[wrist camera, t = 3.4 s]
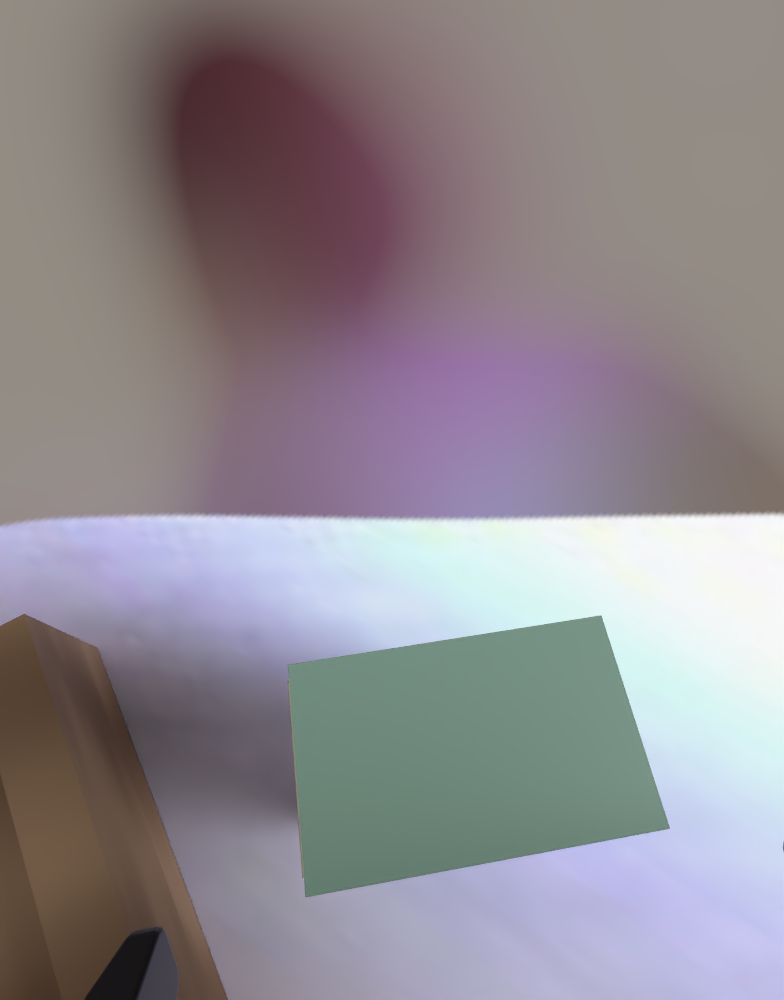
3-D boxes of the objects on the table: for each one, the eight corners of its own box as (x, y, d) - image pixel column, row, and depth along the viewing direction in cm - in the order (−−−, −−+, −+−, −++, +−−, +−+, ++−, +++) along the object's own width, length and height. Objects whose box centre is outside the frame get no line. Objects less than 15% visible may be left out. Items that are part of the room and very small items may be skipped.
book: (519, 804, 17) (669, 828, 8) (348, 835, 16) (302, 897, 8) (495, 698, 18) (600, 615, 9) (336, 725, 18) (285, 665, 9)
